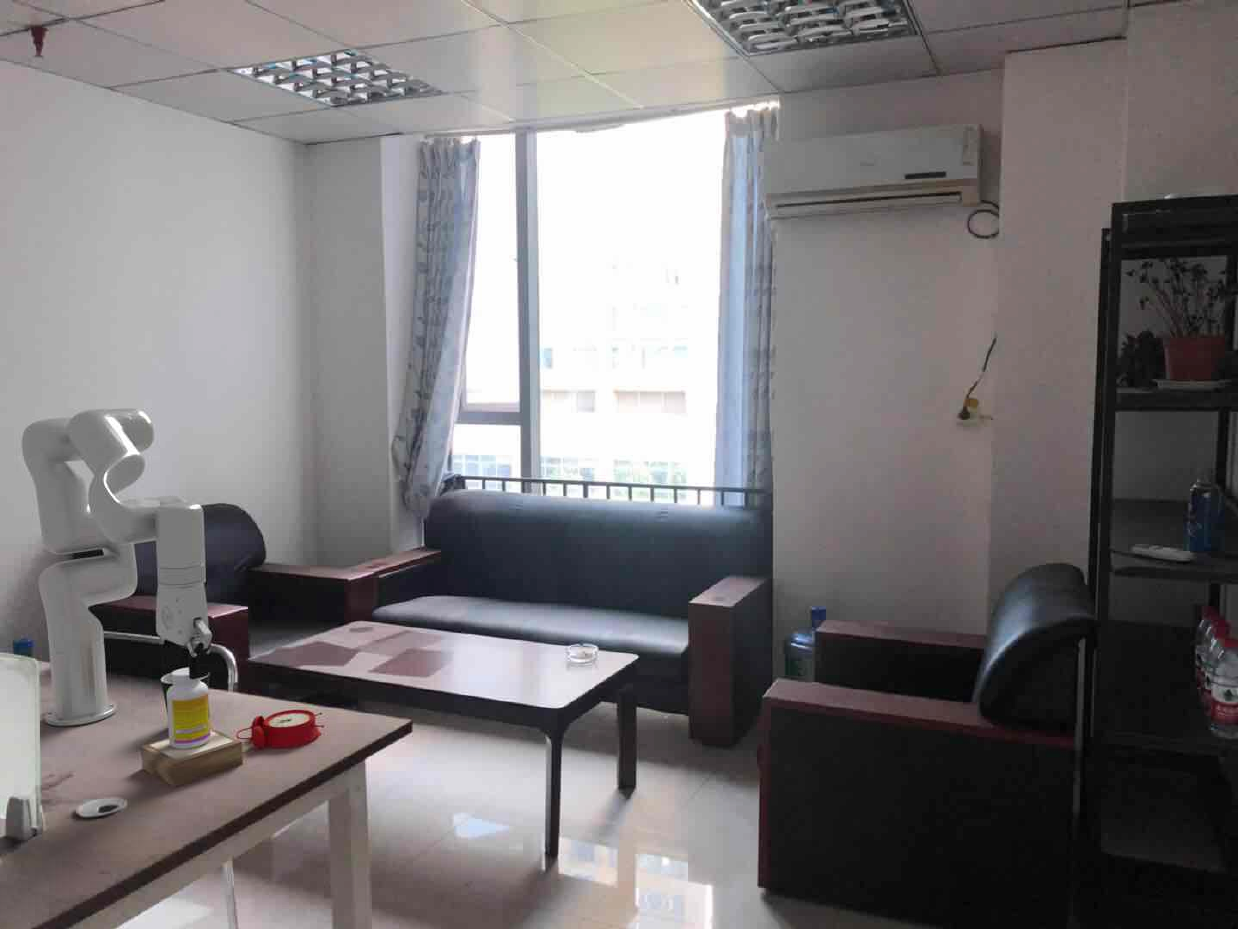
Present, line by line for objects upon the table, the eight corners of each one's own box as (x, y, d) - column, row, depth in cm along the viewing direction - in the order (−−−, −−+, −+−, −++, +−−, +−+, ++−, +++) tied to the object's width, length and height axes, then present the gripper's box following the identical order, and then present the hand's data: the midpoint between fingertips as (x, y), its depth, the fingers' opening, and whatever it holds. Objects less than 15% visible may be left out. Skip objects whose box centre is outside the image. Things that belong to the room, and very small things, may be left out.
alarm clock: (326, 725, 176) (240, 718, 171) (320, 758, 176) (234, 752, 171) (323, 706, 186) (242, 699, 180) (316, 738, 186) (235, 732, 180)
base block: (142, 768, 166) (140, 745, 165) (208, 747, 175) (207, 725, 174) (175, 787, 158) (173, 763, 158) (242, 763, 167) (241, 741, 167)
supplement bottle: (217, 742, 167) (214, 670, 165) (179, 753, 162) (175, 680, 160) (200, 732, 171) (196, 663, 170) (162, 743, 166) (158, 672, 165)
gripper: (136, 570, 166) (140, 665, 168) (184, 587, 155) (188, 688, 157) (179, 563, 172) (182, 655, 174) (228, 579, 161) (231, 677, 163)
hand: (185, 670), depth 165 cm, fingers open, 9 cm apart
